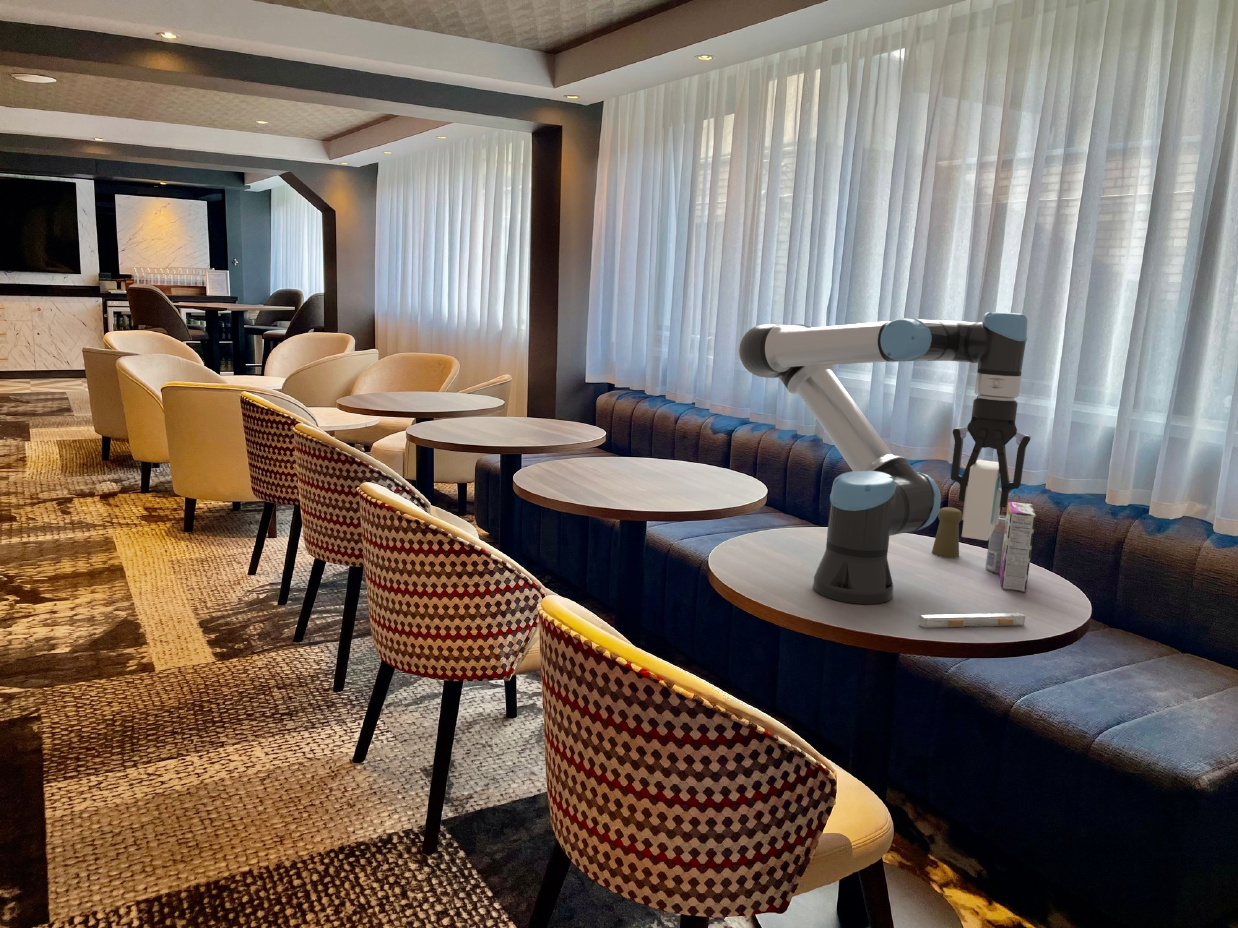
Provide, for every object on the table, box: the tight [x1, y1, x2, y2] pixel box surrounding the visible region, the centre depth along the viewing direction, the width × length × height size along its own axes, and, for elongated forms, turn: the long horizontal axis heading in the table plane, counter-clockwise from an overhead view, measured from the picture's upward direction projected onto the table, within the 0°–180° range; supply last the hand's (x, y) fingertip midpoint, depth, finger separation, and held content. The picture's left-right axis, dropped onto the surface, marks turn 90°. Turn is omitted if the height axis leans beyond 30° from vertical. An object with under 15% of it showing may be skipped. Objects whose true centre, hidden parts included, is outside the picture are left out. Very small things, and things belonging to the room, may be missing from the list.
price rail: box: [918, 612, 1026, 629], centre depth 161 cm, size 20×2×2 cm, turn 102°
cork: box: [931, 506, 963, 559], centre depth 209 cm, size 6×6×11 cm
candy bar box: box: [999, 501, 1037, 593], centre depth 188 cm, size 11×5×16 cm, turn 160°
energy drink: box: [985, 514, 1007, 574], centre depth 197 cm, size 5×5×12 cm
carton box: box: [961, 459, 1001, 542], centre depth 169 cm, size 5×11×13 cm, turn 152°
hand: (980, 521), depth 170 cm, fingers closed on carton box, 5 cm apart
